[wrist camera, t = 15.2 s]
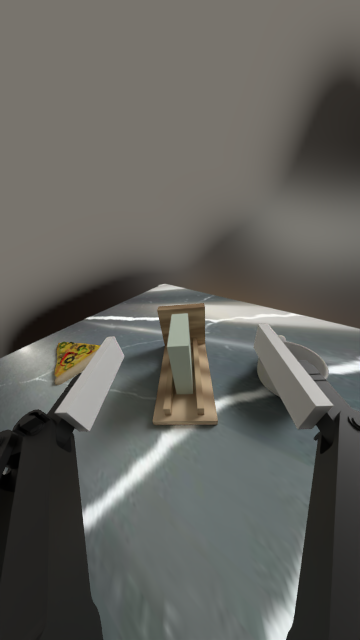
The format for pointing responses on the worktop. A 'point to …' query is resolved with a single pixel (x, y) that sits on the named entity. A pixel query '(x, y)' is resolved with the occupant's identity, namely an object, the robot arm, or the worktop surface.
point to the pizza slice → (72, 359)
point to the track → (201, 402)
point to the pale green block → (180, 353)
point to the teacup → (299, 354)
